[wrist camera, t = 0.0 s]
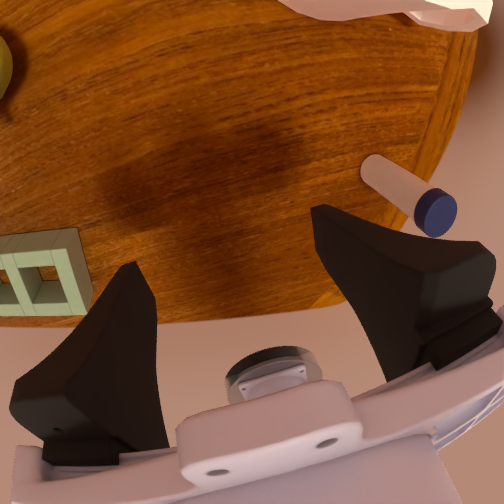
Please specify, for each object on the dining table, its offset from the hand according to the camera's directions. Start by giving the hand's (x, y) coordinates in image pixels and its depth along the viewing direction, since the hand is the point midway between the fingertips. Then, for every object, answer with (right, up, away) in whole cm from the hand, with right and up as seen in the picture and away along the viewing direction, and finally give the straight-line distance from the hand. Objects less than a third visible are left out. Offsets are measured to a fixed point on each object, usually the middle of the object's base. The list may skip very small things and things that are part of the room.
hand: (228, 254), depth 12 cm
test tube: (+11, +7, +11) cm, 17 cm away
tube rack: (-20, -1, +8) cm, 21 cm away
